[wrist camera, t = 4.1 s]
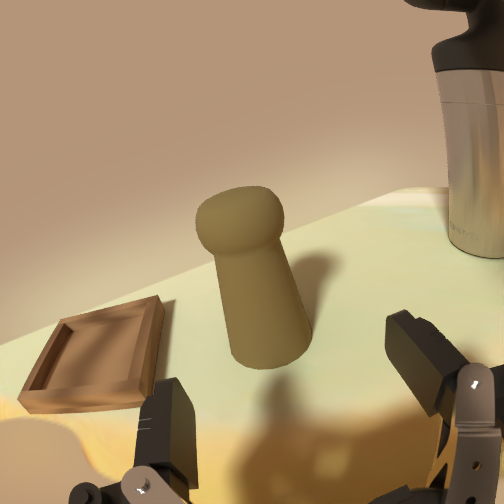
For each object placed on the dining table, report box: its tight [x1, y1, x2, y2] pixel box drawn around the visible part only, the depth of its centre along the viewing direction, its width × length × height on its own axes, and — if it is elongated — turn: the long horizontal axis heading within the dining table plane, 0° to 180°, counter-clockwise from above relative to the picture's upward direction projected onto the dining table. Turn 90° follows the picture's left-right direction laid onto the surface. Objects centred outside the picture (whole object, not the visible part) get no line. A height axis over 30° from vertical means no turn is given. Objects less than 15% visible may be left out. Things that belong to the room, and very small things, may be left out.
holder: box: [17, 295, 165, 414], centre depth 23 cm, size 12×12×2 cm
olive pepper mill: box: [196, 186, 312, 370], centre depth 19 cm, size 6×6×11 cm
